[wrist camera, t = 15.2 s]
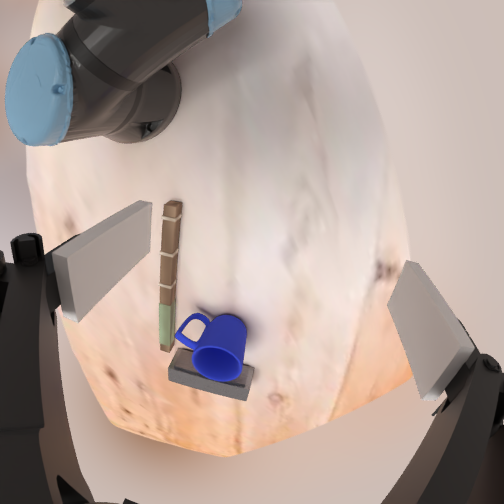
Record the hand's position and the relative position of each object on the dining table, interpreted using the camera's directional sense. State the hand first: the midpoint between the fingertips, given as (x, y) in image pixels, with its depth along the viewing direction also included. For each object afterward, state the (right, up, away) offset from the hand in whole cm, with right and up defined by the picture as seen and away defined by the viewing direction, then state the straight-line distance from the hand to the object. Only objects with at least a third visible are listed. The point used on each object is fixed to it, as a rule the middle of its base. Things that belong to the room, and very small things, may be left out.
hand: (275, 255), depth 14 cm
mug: (-7, -12, +39) cm, 41 cm away
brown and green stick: (-15, -5, +37) cm, 40 cm away
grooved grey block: (-9, -23, +43) cm, 50 cm away
